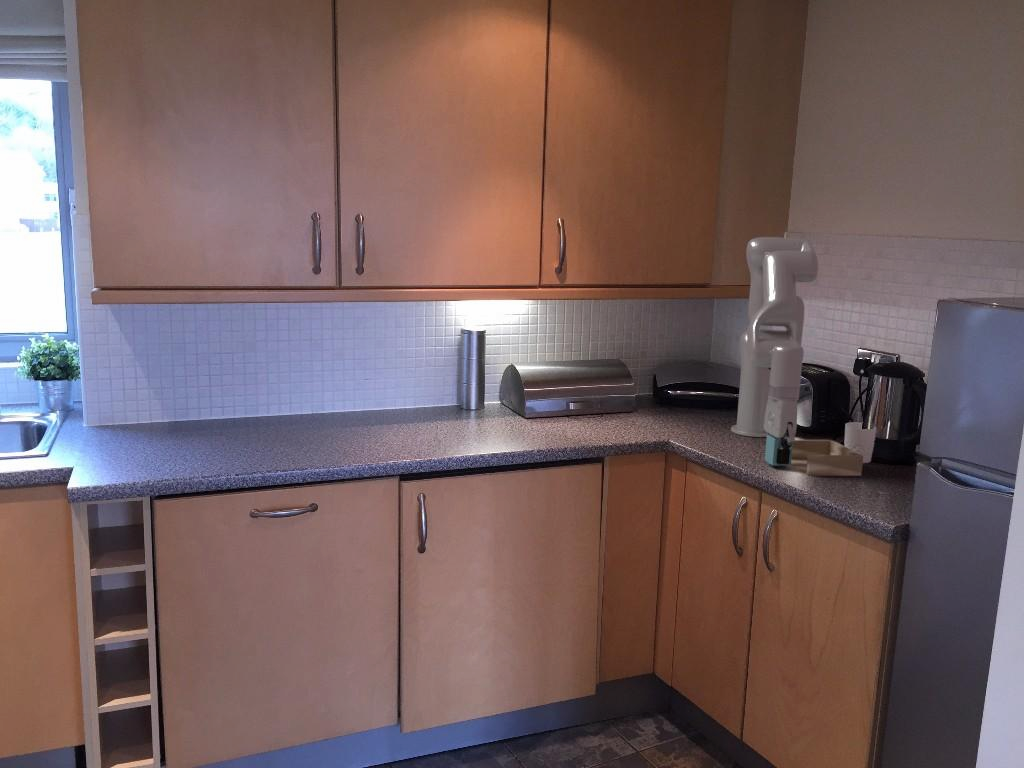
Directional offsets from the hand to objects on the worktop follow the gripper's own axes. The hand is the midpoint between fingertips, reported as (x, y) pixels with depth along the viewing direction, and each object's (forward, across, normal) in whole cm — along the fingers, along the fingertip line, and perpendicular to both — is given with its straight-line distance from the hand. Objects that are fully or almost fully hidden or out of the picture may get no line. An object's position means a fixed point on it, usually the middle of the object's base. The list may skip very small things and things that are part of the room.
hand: (777, 460), depth 228 cm
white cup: (+2, -6, +26) cm, 26 cm away
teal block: (+1, 0, 0) cm, 1 cm away
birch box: (+2, 0, +12) cm, 12 cm away
